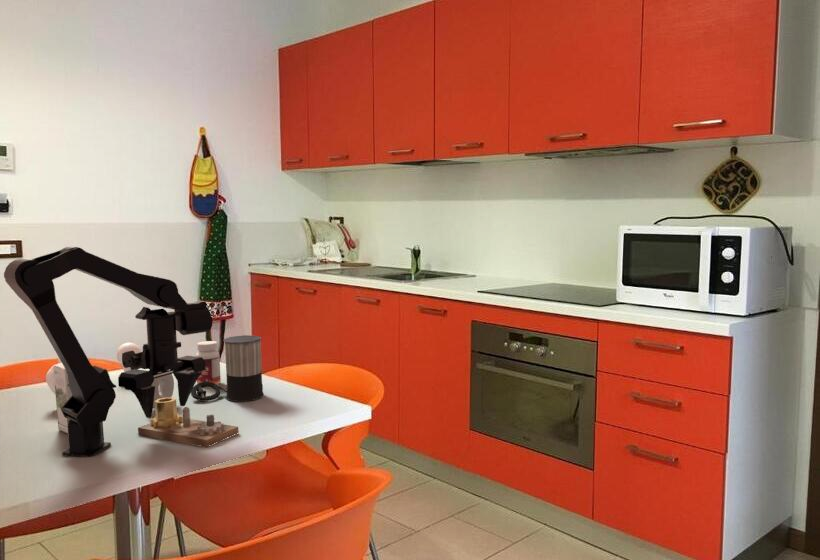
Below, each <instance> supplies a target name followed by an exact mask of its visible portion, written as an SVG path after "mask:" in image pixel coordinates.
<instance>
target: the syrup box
mask: <svg viewBox="0 0 820 560" xmlns="http://www.w3.org/2000/svg"><path fill="white" fill-rule="evenodd" d="M52 366H53V370H54V382H55V394H56V395H55V394H54V395H55V404H56V405H55V406H56V416H57V417H56V418H57V429H58V431H60V432H62V433H64V434H67V435H68V423H69V420H70V419H68V418H65V417H64V415H63V413H62V411H61V408H62V406H63V405H64V404H65V403H66V402H67V401H68V399H69V398H70V397H71V396H72V393H71V390H70V387H69V382H68V374H67V371H66V369H65V367H64V366H63V364H62V363H60V364H59V363H56V364H53V365H52Z"/></svg>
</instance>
